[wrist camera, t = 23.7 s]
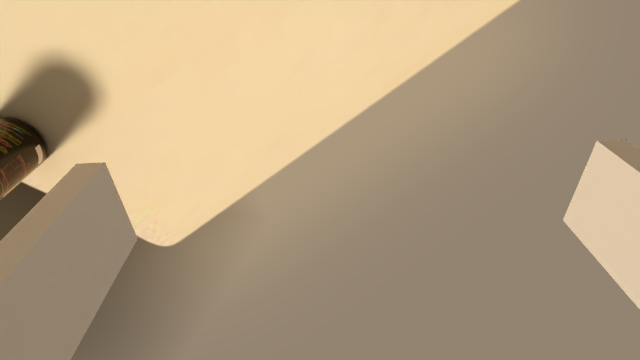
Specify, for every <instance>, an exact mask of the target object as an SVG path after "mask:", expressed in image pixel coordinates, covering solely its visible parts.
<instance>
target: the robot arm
mask: <svg viewBox="0 0 640 360" xmlns="http://www.w3.org/2000/svg"><path fill="white" fill-rule="evenodd" d="M563 221H564V222H565V223H566V224H567V225H568V226H569V227H570V229H571V230H572V231H573V232H574V233H575V235H576V236H577V237H578V238H579V239H580V240H581V242H582V243H583V244H584V245H585V246H586V247H587V248H588V250H589V251H590V252H591V253H592V254H593V255H594V257H595V258H596V259H597V260H598V261H599V262H600V264H601V265H602V266H603V267H604V268H605V269H606V271H607V272H608V273H609V274H610V275H611V276H612V278H613V279H614V280H615V281H616V282H617V283H618V285H619V286H620V287H621V288H622V289H623V290H624V291H625V293H626V294H627V295H628V296H629V297H630V299H631V300H632V301H633V302H634V303H635V304H636V306H637V307H638V308H639V309H640V149H639V148H638V147H636V146H635V145H633V144H632V143H630V142H629V141H627V140H626V139H625V140H606V141H605V140H602V141H597V142H596V144H595V147H594V149H593V151H592V154H591V156H590V158H589V161H588V163H587V165H586V168H585V170H584V172H583V175H582V177H581V179H580V182H579V184H578V186H577V189H576V191H575V193H574V196H573V198H572V201H571V203H570V205H569V208H568V210H567V212H566V214H565V217H564V219H563ZM136 240H137V236H136V234H135V232H134V229H133V227H132V225H131V222H130V220H129V218H128V215H127V213H126V211H125V208H124V206H123V203H122V201H121V199H120V196H119V194H118V192H117V189H116V187H115V185H114V182H113V180H112V178H111V175H110V173H109V171H108V168H107V166H106V164H105V163H84V164H76V165H75V166H74V167H73V168H72V169H71V170H70V171H69V172H68V173H67V174H66V175H65V176H64V177H63V178H62V179H61V180H60V181H59V182H58V183H57V184H56V185H55V186H54V187H53V188H52V189H51V190H50V191H49V192H48V193H47V194H46V195H45V197H43V198H42V199H41V201H39V203H38V204H37V205H36V206H35V207H34V208H33V209H32V210H31V211H30V212H29V213H28V214H27V215H26V216H25V217H24V218H23V219H22V220H21V221H20V222H19V223H18V224H17V225H16V226H15V227H14V228H13V229H12V230H11V231H10V232H9V233H8V234H7V235H6V236H5V237H4V238H3V239H2V240H1V241H0V360H70V359H71V357H72V356H73V354H74V352H75V350H76V349H77V347H78V345H79V343H80V341H81V340H82V338H83V336H84V334H85V332H86V331H87V329H88V327H89V325H90V323H91V322H92V319H93V318H94V316H95V314H96V313H97V311H98V309H99V307H100V305H101V304H102V302H103V300H104V298H105V296H106V294H107V292H108V291H109V289H110V287H111V285H112V283H113V282H114V280H115V278H116V276H117V275H118V273H119V271H120V269H121V267H122V266H123V264H124V262H125V260H126V258H127V257H128V255H129V253H130V251H131V249H132V247H133V246H134V244H135V242H136Z"/></svg>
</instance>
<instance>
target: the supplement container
mask: <svg viewBox="0 0 640 360" xmlns="http://www.w3.org/2000/svg"><path fill="white" fill-rule="evenodd" d="M46 155H47V147H46V144H45V142H44V140H43V138H42V136H41V135H40V134H39V133H38V132H37V131H36V130H35V129H34V128H33V127H31V126H30V125H28V124H26V123H25V122H22V121H20V120H17V119H13V118H7V117H2V118H0V200H1V199H2V198H3V197H4V196H5V195H6V194H8V193H9V192H10V191H11V190H12V189H13V188H14V187H16V186H17V185H18V184H19V183H20V182H21V181H22V180H24V179H25V178H26V177H27V176H28V175H29V174H30V173H32V172H33V171H34V170H35V169H36V168H37V167H38V166H40V165H41V164H42V163H43V162H44V160H45V158H46Z"/></svg>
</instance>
